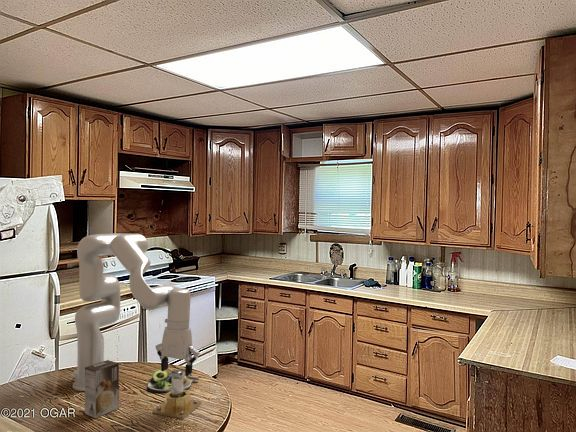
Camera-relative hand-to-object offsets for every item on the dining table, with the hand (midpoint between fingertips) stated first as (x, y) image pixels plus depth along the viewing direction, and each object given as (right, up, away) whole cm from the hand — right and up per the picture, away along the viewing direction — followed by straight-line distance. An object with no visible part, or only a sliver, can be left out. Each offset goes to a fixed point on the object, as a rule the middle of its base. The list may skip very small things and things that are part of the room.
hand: (176, 372), depth 153 cm
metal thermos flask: (0, -12, 0) cm, 12 cm away
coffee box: (-25, -12, -3) cm, 28 cm away
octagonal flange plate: (0, -13, 0) cm, 13 cm away
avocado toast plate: (-8, -13, +21) cm, 26 cm away
